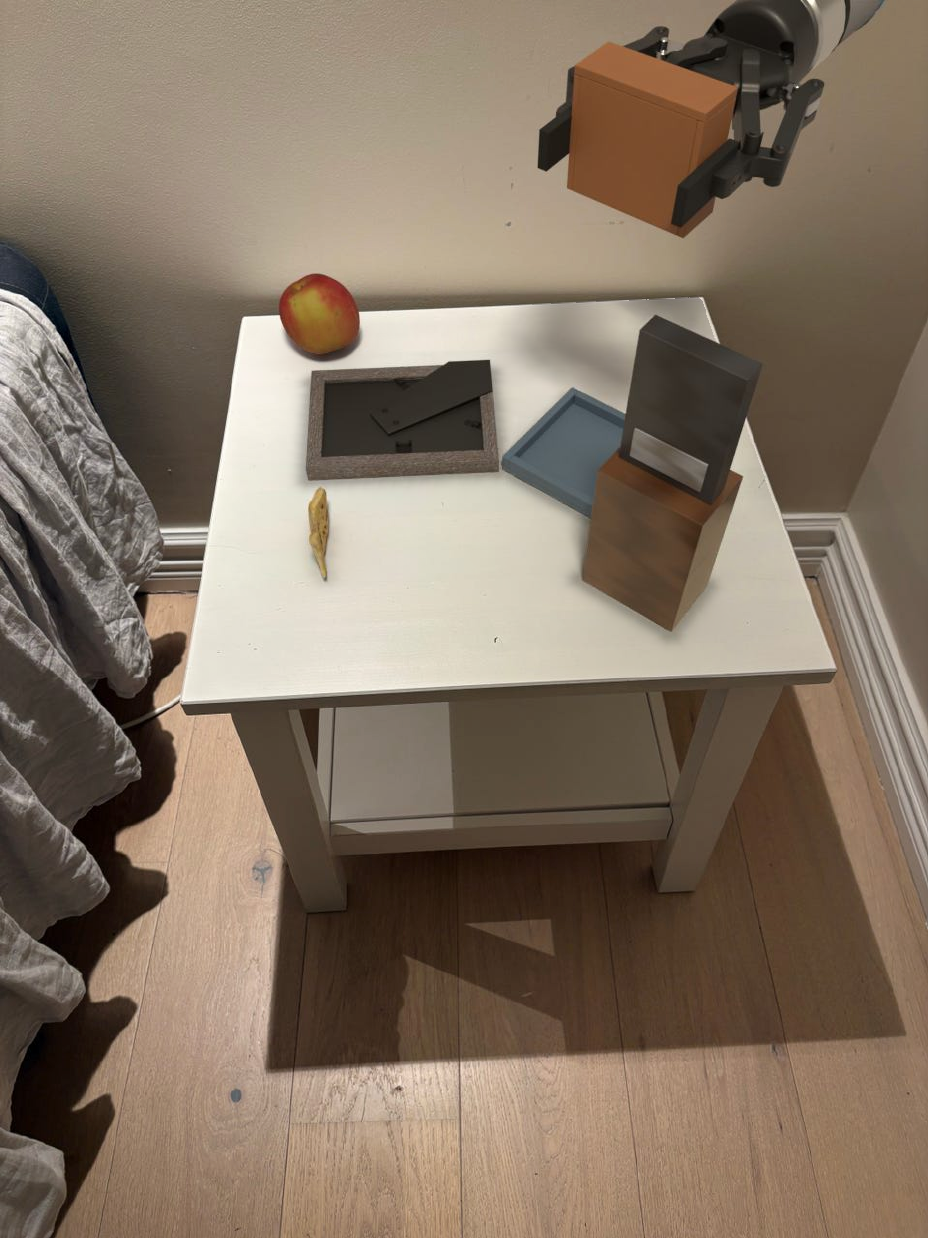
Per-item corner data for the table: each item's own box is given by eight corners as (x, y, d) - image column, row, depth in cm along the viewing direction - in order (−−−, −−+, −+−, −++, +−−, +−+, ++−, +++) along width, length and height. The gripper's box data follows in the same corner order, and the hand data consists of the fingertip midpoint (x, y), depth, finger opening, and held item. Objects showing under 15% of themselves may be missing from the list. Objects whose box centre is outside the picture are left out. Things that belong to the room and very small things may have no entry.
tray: (689, 460, 92) (692, 447, 90) (623, 536, 87) (625, 524, 85) (570, 400, 97) (572, 386, 95) (501, 469, 92) (501, 455, 90)
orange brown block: (712, 212, 67) (738, 86, 60) (683, 238, 66) (706, 113, 59) (597, 164, 71) (608, 40, 64) (566, 188, 69) (574, 64, 62)
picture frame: (490, 374, 99) (313, 382, 99) (490, 359, 97) (310, 367, 97) (498, 471, 91) (308, 480, 91) (499, 456, 90) (304, 465, 89)
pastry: (314, 510, 89) (306, 473, 85) (331, 509, 89) (323, 472, 85) (313, 587, 84) (304, 552, 80) (331, 586, 84) (323, 551, 80)
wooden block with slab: (707, 585, 84) (785, 348, 62) (671, 632, 81) (739, 401, 59) (619, 536, 87) (664, 295, 65) (581, 579, 84) (616, 342, 63)
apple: (340, 312, 105) (330, 247, 98) (374, 355, 101) (367, 291, 94) (275, 336, 103) (261, 272, 96) (308, 382, 99) (296, 318, 92)
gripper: (895, 136, 72) (749, 292, 62) (637, 46, 80) (473, 172, 70) (934, 29, 66) (779, 184, 56) (650, -57, 74) (472, 66, 64)
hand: (609, 177), depth 63 cm, fingers closed on orange brown block, 10 cm apart
